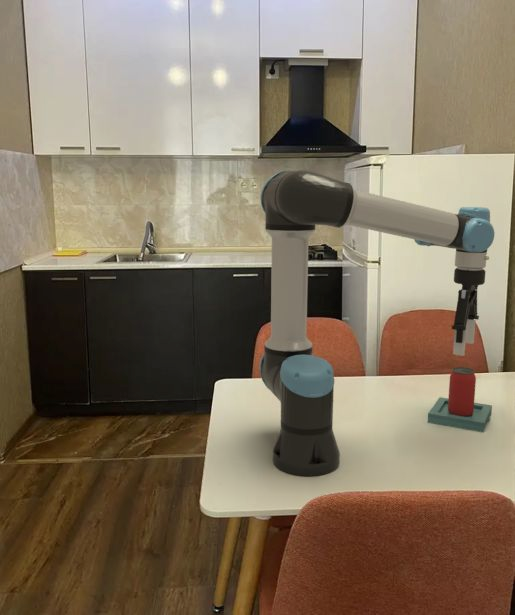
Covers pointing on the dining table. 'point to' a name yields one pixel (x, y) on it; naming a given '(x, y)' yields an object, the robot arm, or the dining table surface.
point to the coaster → (472, 422)
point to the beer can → (461, 391)
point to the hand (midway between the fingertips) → (463, 348)
